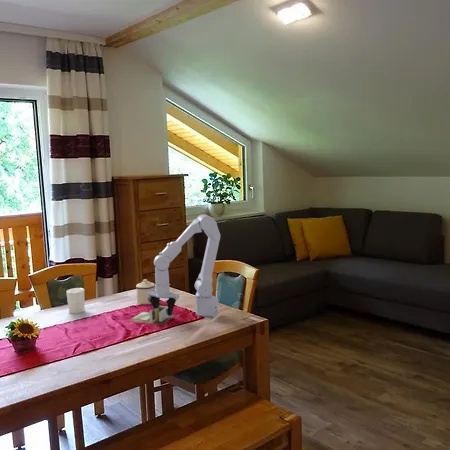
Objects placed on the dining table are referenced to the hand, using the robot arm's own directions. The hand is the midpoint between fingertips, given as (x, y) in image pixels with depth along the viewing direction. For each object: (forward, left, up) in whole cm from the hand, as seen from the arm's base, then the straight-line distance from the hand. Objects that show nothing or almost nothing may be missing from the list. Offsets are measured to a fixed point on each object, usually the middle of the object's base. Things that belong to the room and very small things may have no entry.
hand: (163, 314), depth 211 cm
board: (+5, +2, -2) cm, 5 cm away
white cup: (+45, +1, -3) cm, 45 cm away
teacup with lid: (+20, -20, -3) cm, 28 cm away
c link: (0, +3, -1) cm, 3 cm away
